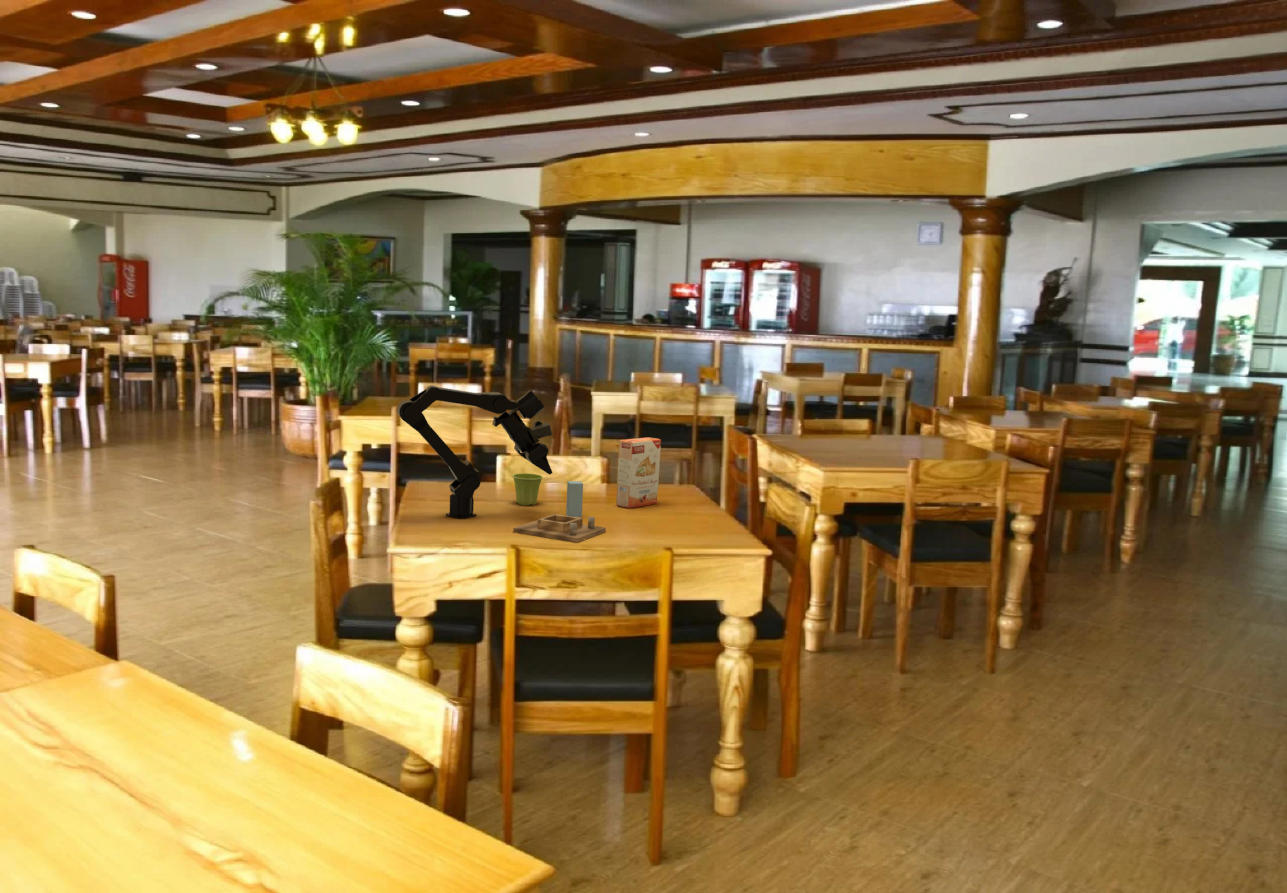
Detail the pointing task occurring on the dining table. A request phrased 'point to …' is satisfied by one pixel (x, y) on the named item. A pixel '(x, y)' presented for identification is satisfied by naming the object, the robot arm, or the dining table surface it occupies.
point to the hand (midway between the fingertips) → (547, 471)
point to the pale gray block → (574, 498)
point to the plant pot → (527, 487)
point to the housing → (561, 528)
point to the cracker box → (638, 472)
